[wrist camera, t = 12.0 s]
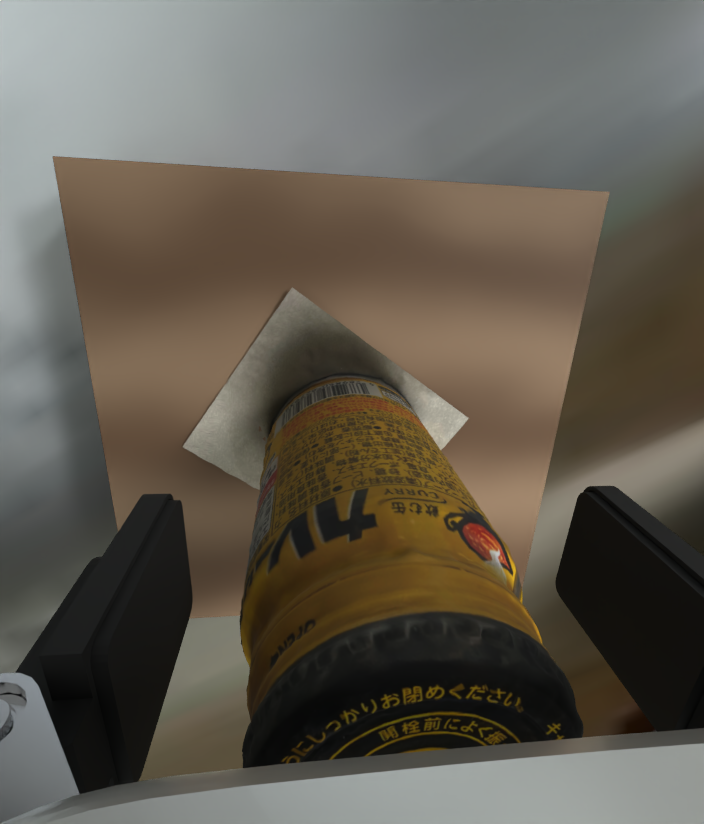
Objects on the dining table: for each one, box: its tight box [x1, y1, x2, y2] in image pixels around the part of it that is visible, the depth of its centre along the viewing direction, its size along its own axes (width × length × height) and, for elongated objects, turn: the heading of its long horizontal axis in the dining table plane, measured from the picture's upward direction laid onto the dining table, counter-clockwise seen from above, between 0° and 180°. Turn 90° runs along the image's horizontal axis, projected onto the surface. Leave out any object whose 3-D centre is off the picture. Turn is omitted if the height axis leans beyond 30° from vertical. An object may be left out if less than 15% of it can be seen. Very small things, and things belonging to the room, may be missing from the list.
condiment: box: [183, 288, 583, 768], centre depth 12 cm, size 7×8×12 cm
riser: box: [53, 156, 610, 618], centre depth 19 cm, size 18×18×4 cm
